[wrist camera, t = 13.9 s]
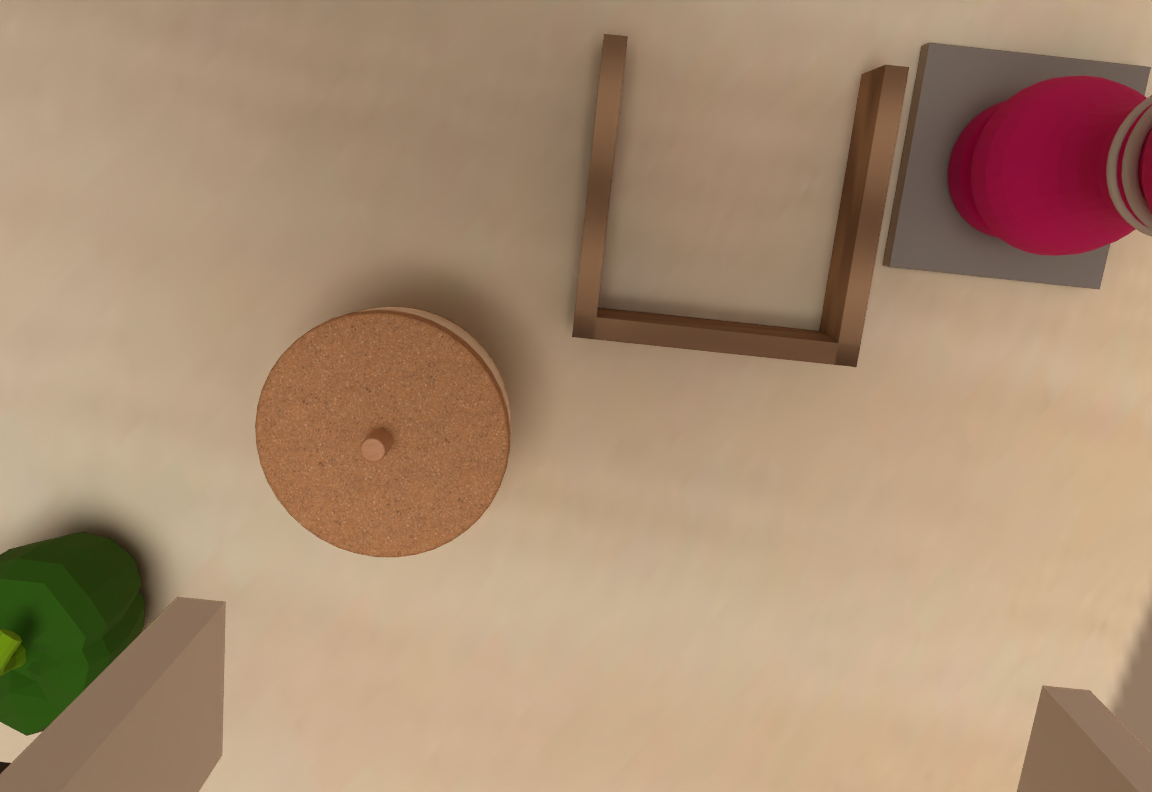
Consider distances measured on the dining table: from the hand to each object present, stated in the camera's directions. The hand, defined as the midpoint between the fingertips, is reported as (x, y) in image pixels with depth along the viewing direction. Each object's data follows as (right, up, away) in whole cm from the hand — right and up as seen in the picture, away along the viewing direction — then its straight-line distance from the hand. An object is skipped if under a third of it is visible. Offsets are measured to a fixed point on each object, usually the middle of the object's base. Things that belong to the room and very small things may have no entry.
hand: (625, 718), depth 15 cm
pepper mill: (+19, +16, +28) cm, 37 cm away
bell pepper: (-26, -5, +34) cm, 43 cm away
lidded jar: (-9, +5, +32) cm, 33 cm away
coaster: (+19, +16, +29) cm, 38 cm away
